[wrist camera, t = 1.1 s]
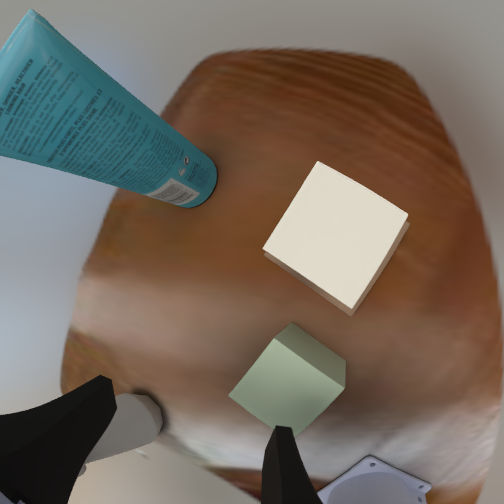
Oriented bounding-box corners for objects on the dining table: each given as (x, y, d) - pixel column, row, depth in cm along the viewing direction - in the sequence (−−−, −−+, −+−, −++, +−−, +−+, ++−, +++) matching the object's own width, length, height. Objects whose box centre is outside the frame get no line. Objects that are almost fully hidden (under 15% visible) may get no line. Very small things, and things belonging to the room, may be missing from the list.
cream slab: (400, 222, 15) (408, 214, 13) (351, 303, 16) (351, 308, 13) (321, 175, 17) (317, 160, 15) (274, 252, 18) (262, 248, 15)
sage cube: (346, 360, 18) (344, 388, 13) (304, 406, 18) (291, 440, 13) (291, 321, 19) (273, 337, 14) (254, 370, 20) (228, 395, 15)
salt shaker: (165, 393, 22) (57, 446, 10) (174, 439, 22) (85, 501, 10) (124, 382, 24) (24, 417, 12) (134, 425, 24) (47, 469, 11)
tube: (206, 136, 22) (31, 6, 4) (239, 167, 21) (28, 9, 3) (153, 195, 24) (-41, 130, 6) (178, 231, 23) (-56, 179, 5)
